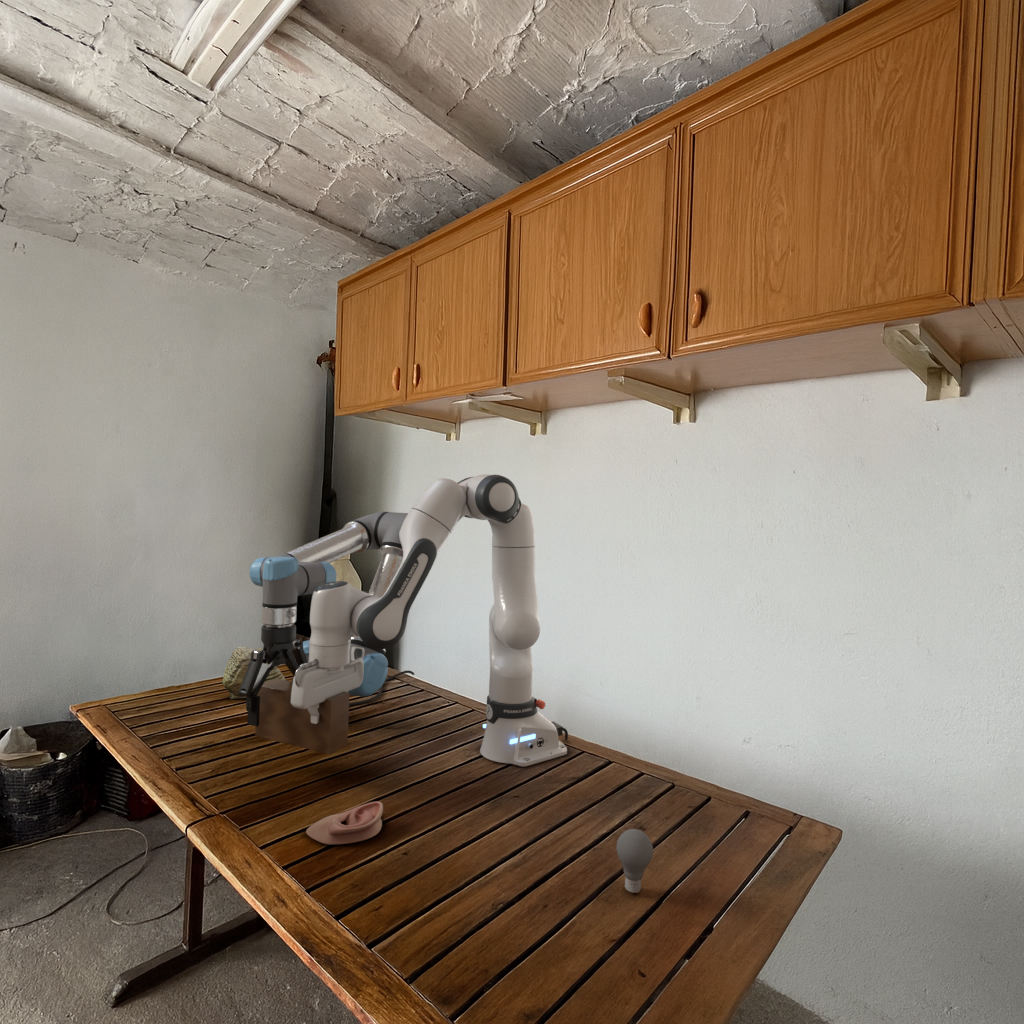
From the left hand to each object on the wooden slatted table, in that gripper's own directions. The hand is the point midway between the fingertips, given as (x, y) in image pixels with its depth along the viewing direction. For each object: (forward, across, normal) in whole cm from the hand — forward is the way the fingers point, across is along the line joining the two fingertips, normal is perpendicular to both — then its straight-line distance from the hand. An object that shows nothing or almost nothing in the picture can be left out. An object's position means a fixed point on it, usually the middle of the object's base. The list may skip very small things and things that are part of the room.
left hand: (275, 715), depth 146 cm
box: (+4, 0, -8) cm, 9 cm away
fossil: (+12, +37, +44) cm, 59 cm away
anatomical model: (+12, -14, -32) cm, 37 cm away
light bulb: (+12, -8, -85) cm, 87 cm away
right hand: (-2, 0, -15) cm, 15 cm away
